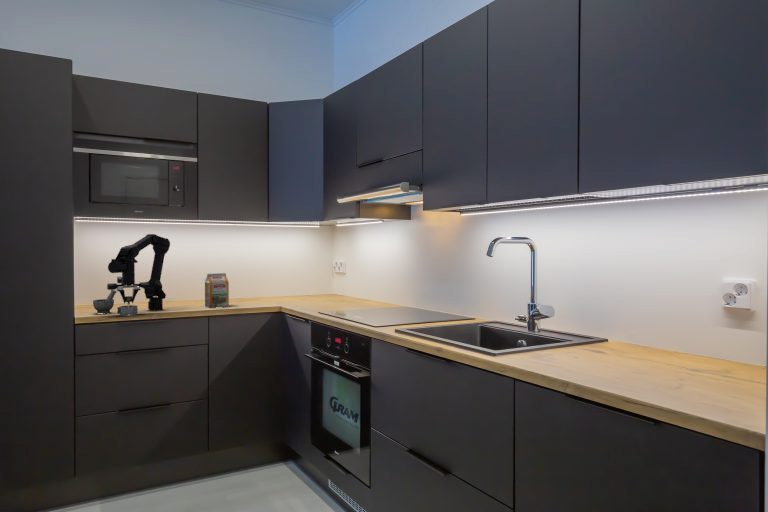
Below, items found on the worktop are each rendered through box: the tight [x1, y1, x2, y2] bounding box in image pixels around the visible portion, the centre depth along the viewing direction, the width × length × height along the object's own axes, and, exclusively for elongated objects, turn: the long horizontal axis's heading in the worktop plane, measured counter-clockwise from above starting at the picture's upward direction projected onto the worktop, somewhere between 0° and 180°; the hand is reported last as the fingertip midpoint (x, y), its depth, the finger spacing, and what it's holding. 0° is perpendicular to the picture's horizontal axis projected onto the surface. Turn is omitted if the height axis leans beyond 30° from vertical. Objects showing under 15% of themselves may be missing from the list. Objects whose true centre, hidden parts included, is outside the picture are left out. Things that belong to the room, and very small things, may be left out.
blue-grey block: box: [116, 304, 139, 317], centre depth 261 cm, size 9×8×4 cm
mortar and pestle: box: [92, 289, 117, 314], centre depth 267 cm, size 11×9×12 cm
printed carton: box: [204, 272, 230, 309], centre depth 296 cm, size 11×11×19 cm
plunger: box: [125, 295, 132, 307], centre depth 261 cm, size 5×5×9 cm
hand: (128, 303), depth 261 cm, fingers closed on plunger, 3 cm apart
